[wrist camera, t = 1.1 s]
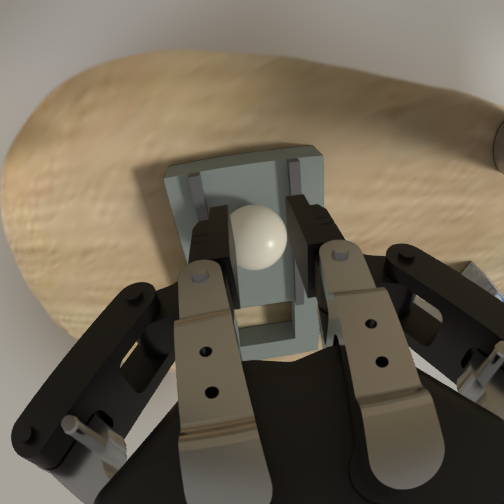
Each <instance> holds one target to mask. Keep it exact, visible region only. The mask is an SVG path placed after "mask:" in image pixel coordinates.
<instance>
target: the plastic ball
mask: <svg viewBox="0 0 504 504" xmlns="http://www.w3.org/2000/svg"><path fill="white" fill-rule="evenodd" d="M230 219H231V224H232V230H233V236H234V241H235V249H236V260H237V266H239V267H241V268H244V269H247V270H261V269H265V268H267V267H269V266H271V265H273V264H274V263H275V262H276V261H277V260H278V259H279V258H280V257H281V256H282V254H283V252H284V250H285V247H286V243H287V232H286V228H285V225H284V223H283V221H282V219H281V218H280V217H279V215H278V214H277V213H276V212H274V211H273V210H271V209H270V208H268V207H265V206H262V205H246V206H243V207H241V208H238V209H237V210H235V211H234V212H233V213H231V215H230Z"/></svg>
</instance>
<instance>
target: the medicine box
mask: <svg viewBox="0 0 504 504" xmlns="http://www.w3.org/2000/svg"><path fill="white" fill-rule="evenodd" d="M461 275H463V276H465V277H466V278H468V279H469V280H471V281H472V282H474V283H475V284H477V285H478V286H480V287H481V288H483V289H485V290H486V291H488V292H489V293H490V294H492V295H493V296H495V297H496V298H498V299H499V300H501V301H502V302H504V296H503V295H502V294H501V292H500V291H499V290H498V289H497V287H496V286H495V285H494V284H493V282H492V281H491V280H490V279H489V278H488V277H487V275H486V274H485V273H484V272H482V271H481V270H480V269H479V268H478V267H477V266H476V265H475V264H474V263H473V262H472V261H471V262H470V263H469V264H468V266H467V267H466V268H465V269H464V271H463V272H462V273H461Z"/></svg>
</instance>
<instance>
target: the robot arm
mask: <svg viewBox="0 0 504 504" xmlns="http://www.w3.org/2000/svg"><path fill="white" fill-rule="evenodd" d="M494 160H495V164H496V166H497V168H498V170H499V171H500V172H502V173H503V174H504V123H503V124H502V125H501V127H500V128H499V130H498V132H497V135H496V138H495V143H494ZM285 205H286V219H287V232H288V239H289V243H290V246H291V249H292V252H293V255H294V258H295V261H296V264H297V267H298V270H299V273H300V276H301V279H302V282H303V286H304V289H305V292H306V295H307V298H313V297H316V299H317V302H318V304H317V314H318V320H319V326H320V333H321V339H322V346H323V349H322V350H320V351H317V352H315V353H313V354H310V355H308V356H306V357H303V358H301V359H299V360H296V361H293V362H278V361H262V360H247V361H243V359H242V354H241V350H240V346H239V342H238V337H237V333H236V329H235V324H234V310H235V309H241V307H240V295H239V284H238V272H237V260H236V249H235V241H234V236H233V230H232V224H231V219H230V213H229V208H228V204H227V205H221V206H215V207H210V211H209V220H203V221H198V223H197V224H196V225H195V226H194V228H193V230H192V238H191V244H190V252H189V259H188V265H186V266H185V267H184V268H183V269H182V270H181V271H180V273H179V275H178V281H177V282H176V283H174V284H172V285H170V286H168V287H165V288H163V289H160V290H157V291H156V290H155V288H154V287H153V286H152V285H151V284H149V283H146V282H138V283H134V284H131V285H129V286H127V287H126V288H124V289H123V290H122V291H121V292H120V293H119V294H118V295H117V296H116V297H115V298H114V299H113V301H112V302H111V303H110V304H109V305H108V306H107V307H106V308H105V310H104V311H103V312H102V313H101V314H100V315H99V317H98V318H97V319H96V320H95V321H94V322H93V323H92V325H91V326H90V327H89V328H88V329H87V331H86V332H85V333H84V334H83V335H82V337H81V338H80V339H79V340H78V341H77V343H76V344H75V345H74V346H73V347H72V349H71V350H70V351H69V353H68V354H67V355H66V356H65V357H64V358H63V360H62V361H61V362H60V364H59V365H58V366H57V367H56V369H55V370H54V371H53V372H52V374H51V375H50V376H49V378H48V379H47V380H46V381H45V383H44V384H43V385H42V387H41V388H40V389H39V391H38V392H37V393H36V395H35V396H34V397H33V399H32V400H31V401H30V403H29V404H28V405H27V407H26V408H25V410H24V411H23V412H22V414H21V415H20V417H19V418H18V419H17V421H16V423H15V424H14V426H13V430H12V434H11V441H12V445H13V448H14V450H15V451H16V452H17V454H18V455H20V456H21V457H23V458H25V459H27V460H28V461H30V462H32V463H34V464H36V465H37V466H38V467H39V468H41V469H43V470H45V471H47V472H48V473H51V474H52V475H53V476H54V477H55V478H56V479H57V480H58V481H59V482H60V483H61V484H62V485H64V486H65V487H66V488H67V489H68V490H69V491H70V492H71V493H73V494H74V495H75V496H76V497H77V498H78V499H80V500H81V501H82V502H83V503H84V504H504V302H502V301H501V300H499V299H498V298H496V297H495V296H493V295H492V294H490V293H489V292H488V291H486V290H485V289H483V288H481V287H480V286H478V285H477V284H475V283H474V282H472V281H471V280H469V279H468V278H466V277H465V276H463V275H461V274H460V273H458V272H457V271H455V270H453V269H452V268H450V267H448V266H447V265H445V264H444V263H442V262H440V261H439V260H437V259H435V258H434V257H432V256H430V255H429V254H427V253H425V252H423V251H422V250H420V249H418V248H416V247H415V246H412V245H409V244H395V245H392V246H390V247H389V248H388V249H387V252H386V256H372V255H365V254H362V251H361V249H360V248H359V247H358V246H357V245H356V244H354V243H352V242H350V241H346V240H345V239H344V237H343V235H342V234H341V232H340V230H339V229H338V227H337V225H336V224H335V223H334V221H333V219H332V218H331V216H330V214H329V213H328V211H327V209H325V208H324V207H322V206H320V205H319V204H314V205H310V204H309V202H308V201H307V199H306V197H305V195H304V194H299V195H291V196H286V197H285ZM416 295H418V296H419V297H420V298H422V299H423V300H425V301H426V302H428V303H429V304H431V305H432V306H433V307H435V308H436V309H438V310H439V312H440V313H441V315H442V322H440V321H439V320H438V319H436V318H435V317H434V316H432V315H431V314H429V313H428V312H427V311H425V310H424V309H422V308H421V307H419V306H418V305H417V304H415V303H414V300H415V297H416ZM136 341H137V343H138V345H137V346H136V348H135V349H134V350H133V352H132V353H131V354H130V356H129V357H128V358H127V360H126V361H125V363H124V364H123V365H122V367H121V368H120V364H121V362H122V360H123V358H124V357H125V356H126V354H127V353H128V352H129V350H130V349H131V348H132V346H133V345H134V344H135V342H136ZM409 347H410V348H411V349H412V350H414V351H415V352H416V353H417V354H419V355H420V356H421V357H422V358H424V359H425V360H426V361H427V362H429V363H430V364H431V365H432V366H434V367H435V368H436V369H438V370H439V371H440V372H441V373H443V374H444V375H445V376H446V377H447V378H449V379H450V380H451V381H452V382H454V383H455V384H456V385H457V390H458V392H459V393H458V392H456V391H455V390H453V389H452V388H450V387H448V386H447V385H445V384H443V383H441V382H440V381H438V380H437V379H435V378H433V377H431V376H430V375H428V374H427V373H425V372H423V371H421V370H420V369H418V368H417V367H415V364H414V361H413V358H412V355H411V352H410V349H409ZM174 361H175V362H176V378H177V390H178V401H177V403H176V404H175V405H174V406H173V407H172V409H171V410H170V411H169V412H168V413H167V415H166V416H165V417H164V418H163V419H162V421H161V422H160V423H159V424H158V425H157V427H156V428H155V429H154V430H153V431H152V432H151V433H150V435H149V436H148V437H147V438H146V439H145V441H144V442H143V443H142V444H141V445H140V446H139V448H138V449H137V450H136V451H135V452H134V453H133V454H132V456H131V457H130V458H129V459H128V460H127V455H126V443H125V441H124V439H125V437H126V436H127V434H128V433H129V431H130V429H131V428H132V426H133V425H134V423H135V422H136V420H137V418H138V417H139V415H140V414H141V412H142V410H143V409H144V408H145V406H146V405H147V403H148V402H149V400H150V398H151V397H152V395H153V394H154V392H155V391H156V389H157V388H158V386H159V384H160V383H161V381H162V379H163V378H164V377H165V375H166V374H167V372H168V371H169V369H170V367H171V366H172V364H173V363H174ZM126 460H127V461H126ZM124 463H125V464H124ZM123 464H124V465H123ZM122 465H123V466H122Z"/></svg>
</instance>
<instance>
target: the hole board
mask: <svg viewBox="0 0 504 504" xmlns="http://www.w3.org/2000/svg"><path fill="white" fill-rule="evenodd" d="M163 180H164V183H165V187H166V191H167V195H168V198H169V202H170V206H171V209H172V213H173V217H174V220H175V224H176V227H177V231H178V234H179V238H180V241H181V244H182V248H183V251H184V254H185V258H186V261H187V264H188V259H189V252H190V244H191V238H192V230H193V228H194V226H195V225H196V224H197V223H198V221H203V220H209V211H210V207H215V206H221V205H227V204H228V208H229V213H230V215H231V213H233V212H234V211H235V210H237V209H238V208H241V207H243V206H246V205H262V206H265V207H268V208H270V209H271V210H273V211H274V212H276V213H277V214H278V215H279V217H280V218H281V219H282V221H283V223H284V225H285V228H286V232H287V219H286V205H285V197H286V196H291V195H299V194H304V195H305V197H306V199H307V201H308V202H309V204H310V205H314V204H319V205H320V206H322V207H324V165H323V155H322V154H321V153H320V152H319V151H318V150H317V149H316V148H315V147H314V146H313V145H312V146H301V147H291V148H282V149H273V150H265V151H257V152H250V153H243V154H236V155H229V156H223V157H217V158H211V159H205V160H199V161H194V162H189V163H183V164H178V165H173V166H169V168H168V170H167V172H166V174H165V176H164V178H163ZM237 272H238V284H239V295H240V307H241V308H246V307H253V306H259V305H266V304H272V303H279V302H285V301H290V304H291V321H286V322H280V323H273V324H267V325H260V326H254V327H247V328H238V324H237V319H236V315H235V311H234V324H235V329H236V333H237V337H238V342H239V346H240V350H241V354H242V359H243V361H247V360H260V359H267V358H274V357H280V356H286V355H292V354H298V353H303V352H309V351H314V350H318V342H319V329H320V326H319V320H318V314H317V304H318V302H317V299H316V297H313V298H307V295H306V292H305V289H304V286H303V282H302V279H301V276H300V273H299V270H298V267H297V264H296V261H295V258H294V255H293V252H292V249H291V246H290V243H289V239H288V232H287V243H286V247H285V250H284V252H283V254H282V256H281V257H280V258H279V259H278V260H277V261H276V262H275V263H274V264H273V265H271V266H269V267H267V268H265V269H261V270H247V269H244V268H241V267H239V266H237Z"/></svg>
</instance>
